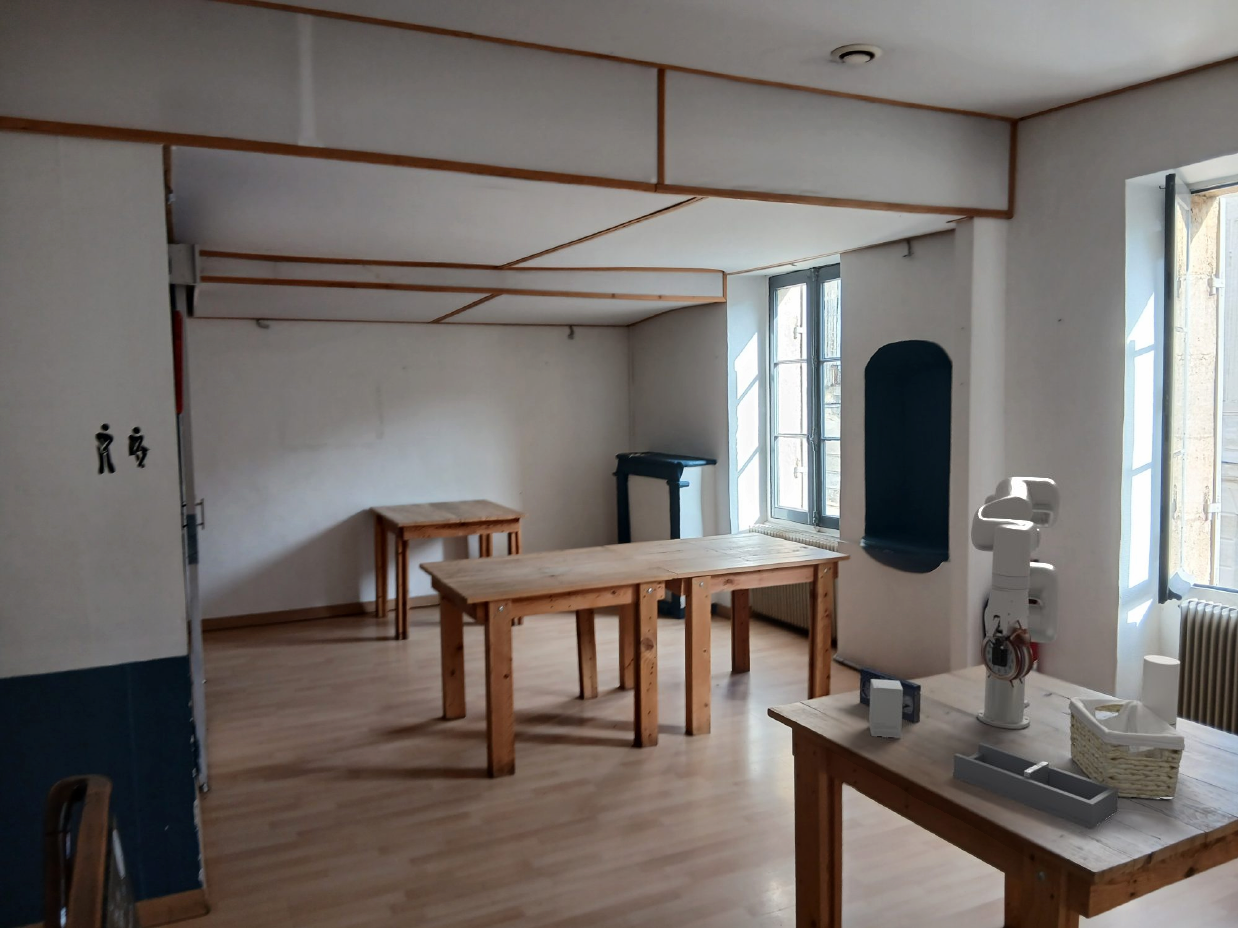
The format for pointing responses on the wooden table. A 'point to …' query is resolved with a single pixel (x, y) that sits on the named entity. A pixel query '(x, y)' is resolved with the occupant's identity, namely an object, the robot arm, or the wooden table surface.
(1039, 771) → the pusher plate
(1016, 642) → the alarm clock
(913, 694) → the vhs cassette tape
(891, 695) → the supplement box
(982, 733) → the wooden table surface
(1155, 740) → the storage basket
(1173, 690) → the cylindrical container
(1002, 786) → the tray
